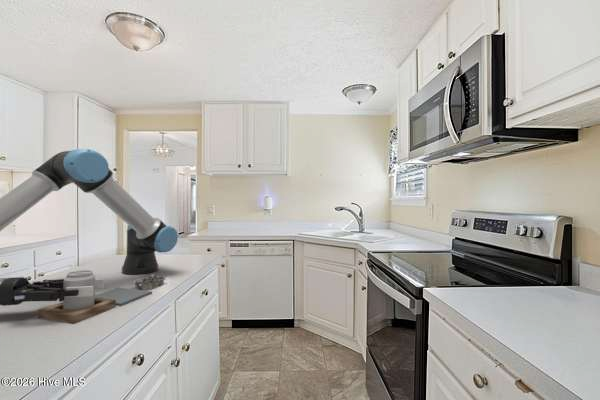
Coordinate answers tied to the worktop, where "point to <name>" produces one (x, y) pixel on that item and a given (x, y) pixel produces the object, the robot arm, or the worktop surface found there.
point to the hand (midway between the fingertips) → (98, 286)
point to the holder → (73, 317)
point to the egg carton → (149, 282)
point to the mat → (123, 295)
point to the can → (79, 280)
